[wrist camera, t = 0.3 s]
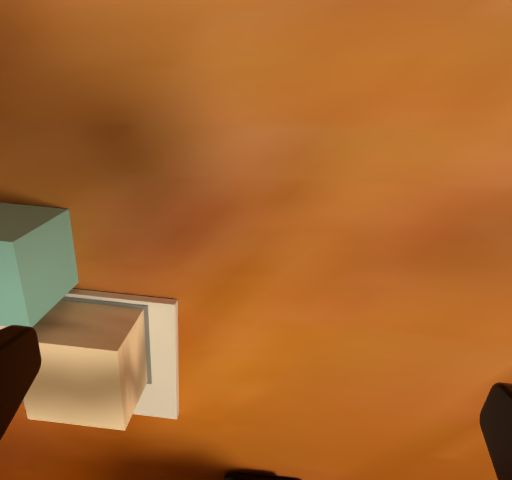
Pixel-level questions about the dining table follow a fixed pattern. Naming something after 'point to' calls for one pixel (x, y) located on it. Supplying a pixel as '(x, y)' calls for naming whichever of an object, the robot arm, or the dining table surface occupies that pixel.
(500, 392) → the robot arm
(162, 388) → the cream grey flat board
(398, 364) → the dining table surface
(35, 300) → the teal cube
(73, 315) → the maple base block
